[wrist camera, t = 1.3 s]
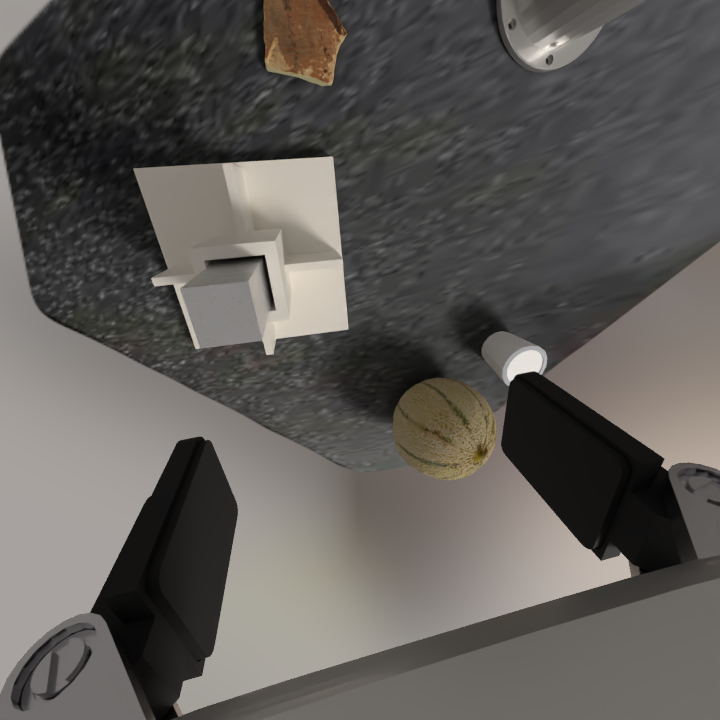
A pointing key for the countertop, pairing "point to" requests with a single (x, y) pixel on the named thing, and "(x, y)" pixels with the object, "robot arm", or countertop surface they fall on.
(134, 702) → the robot arm
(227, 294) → the steel post
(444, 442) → the cantaloupe
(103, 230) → the countertop surface
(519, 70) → the countertop surface
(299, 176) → the cream stand
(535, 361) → the shot glass
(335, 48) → the shard
